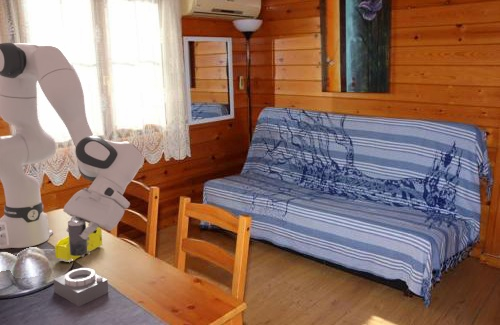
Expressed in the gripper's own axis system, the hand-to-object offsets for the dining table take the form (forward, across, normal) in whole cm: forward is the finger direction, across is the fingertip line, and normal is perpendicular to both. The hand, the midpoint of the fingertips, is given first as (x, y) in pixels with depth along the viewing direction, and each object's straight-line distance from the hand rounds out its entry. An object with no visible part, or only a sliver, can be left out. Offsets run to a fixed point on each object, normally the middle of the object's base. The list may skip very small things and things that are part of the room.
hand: (75, 235), depth 112 cm
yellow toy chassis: (+2, -23, +23) cm, 32 cm away
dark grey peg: (+3, 0, +4) cm, 5 cm away
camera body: (+12, 0, +13) cm, 17 cm away
